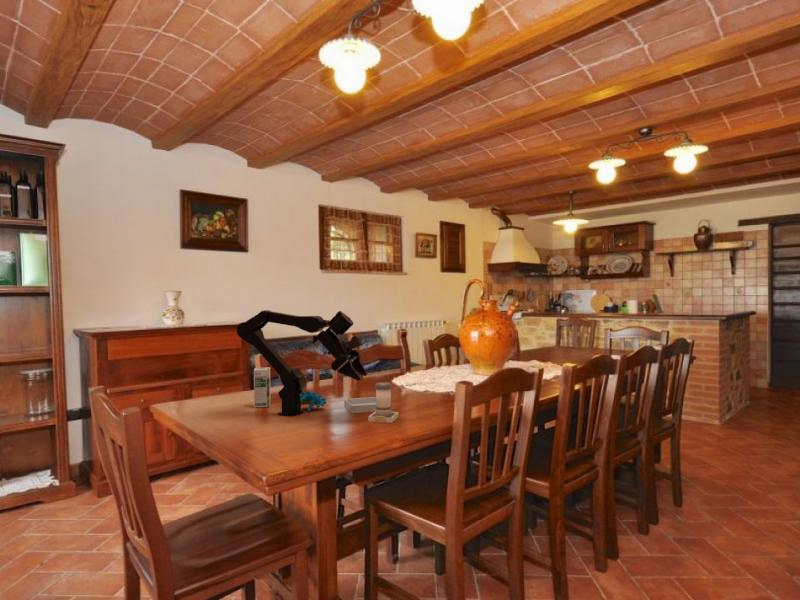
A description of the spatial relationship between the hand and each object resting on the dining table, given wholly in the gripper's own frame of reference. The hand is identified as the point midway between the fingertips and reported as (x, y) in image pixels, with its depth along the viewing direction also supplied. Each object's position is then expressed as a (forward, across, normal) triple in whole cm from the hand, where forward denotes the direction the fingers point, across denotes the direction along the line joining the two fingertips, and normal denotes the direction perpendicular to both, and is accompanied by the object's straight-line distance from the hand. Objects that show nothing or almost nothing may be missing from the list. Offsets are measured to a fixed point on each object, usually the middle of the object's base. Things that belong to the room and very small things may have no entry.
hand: (362, 377), depth 162 cm
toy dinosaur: (-5, +7, +25) cm, 26 cm away
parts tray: (+8, +12, +11) cm, 18 cm away
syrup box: (-19, +10, +40) cm, 45 cm away
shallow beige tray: (+15, -2, +4) cm, 16 cm away
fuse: (+15, -2, +4) cm, 16 cm away
